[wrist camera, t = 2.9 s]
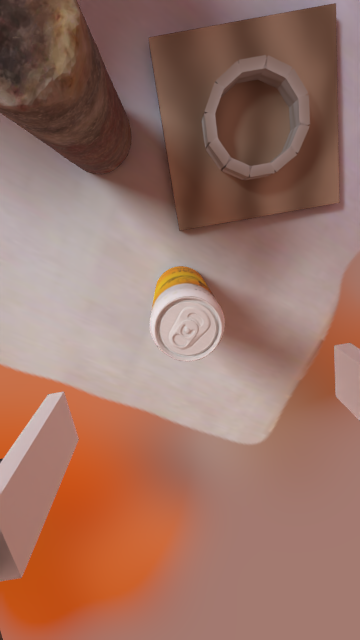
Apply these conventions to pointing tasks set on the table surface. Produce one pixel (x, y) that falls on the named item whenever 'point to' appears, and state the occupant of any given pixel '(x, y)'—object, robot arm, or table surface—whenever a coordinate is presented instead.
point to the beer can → (185, 315)
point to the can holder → (250, 115)
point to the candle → (60, 83)
